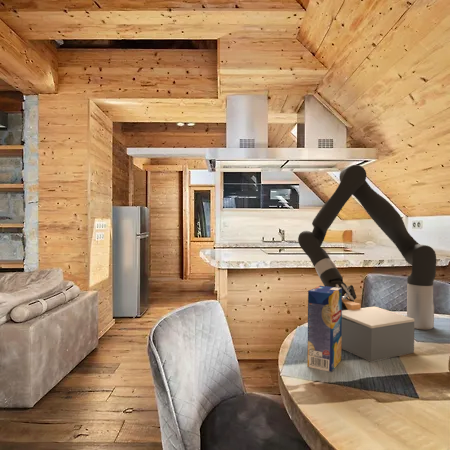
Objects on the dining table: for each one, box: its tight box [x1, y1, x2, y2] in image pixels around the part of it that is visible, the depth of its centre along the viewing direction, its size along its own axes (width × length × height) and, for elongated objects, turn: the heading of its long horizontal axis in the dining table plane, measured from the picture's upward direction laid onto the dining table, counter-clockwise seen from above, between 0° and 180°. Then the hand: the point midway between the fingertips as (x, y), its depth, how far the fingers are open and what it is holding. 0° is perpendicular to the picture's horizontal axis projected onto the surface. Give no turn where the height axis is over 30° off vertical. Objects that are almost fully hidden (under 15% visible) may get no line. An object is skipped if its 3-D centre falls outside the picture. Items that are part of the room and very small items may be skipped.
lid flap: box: [342, 298, 414, 328], centre depth 123 cm, size 19×23×2 cm
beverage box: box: [306, 285, 343, 373], centre depth 107 cm, size 7×11×22 cm, turn 147°
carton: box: [341, 317, 415, 363], centre depth 120 cm, size 19×16×10 cm
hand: (350, 311), depth 129 cm, fingers closed on lid flap, 4 cm apart
